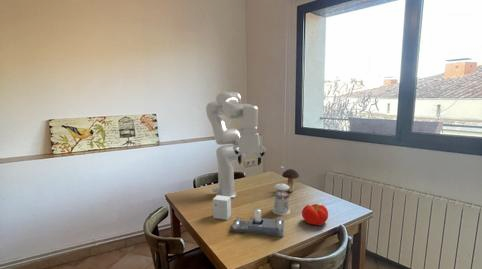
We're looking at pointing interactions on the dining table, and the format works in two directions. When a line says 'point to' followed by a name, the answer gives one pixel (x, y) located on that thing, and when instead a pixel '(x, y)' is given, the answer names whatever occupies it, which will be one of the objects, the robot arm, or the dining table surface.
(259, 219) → the steel pin
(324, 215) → the tomato
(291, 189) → the decorative mushroom
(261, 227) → the plate with square hole
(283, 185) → the french press
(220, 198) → the small box
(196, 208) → the dining table surface
